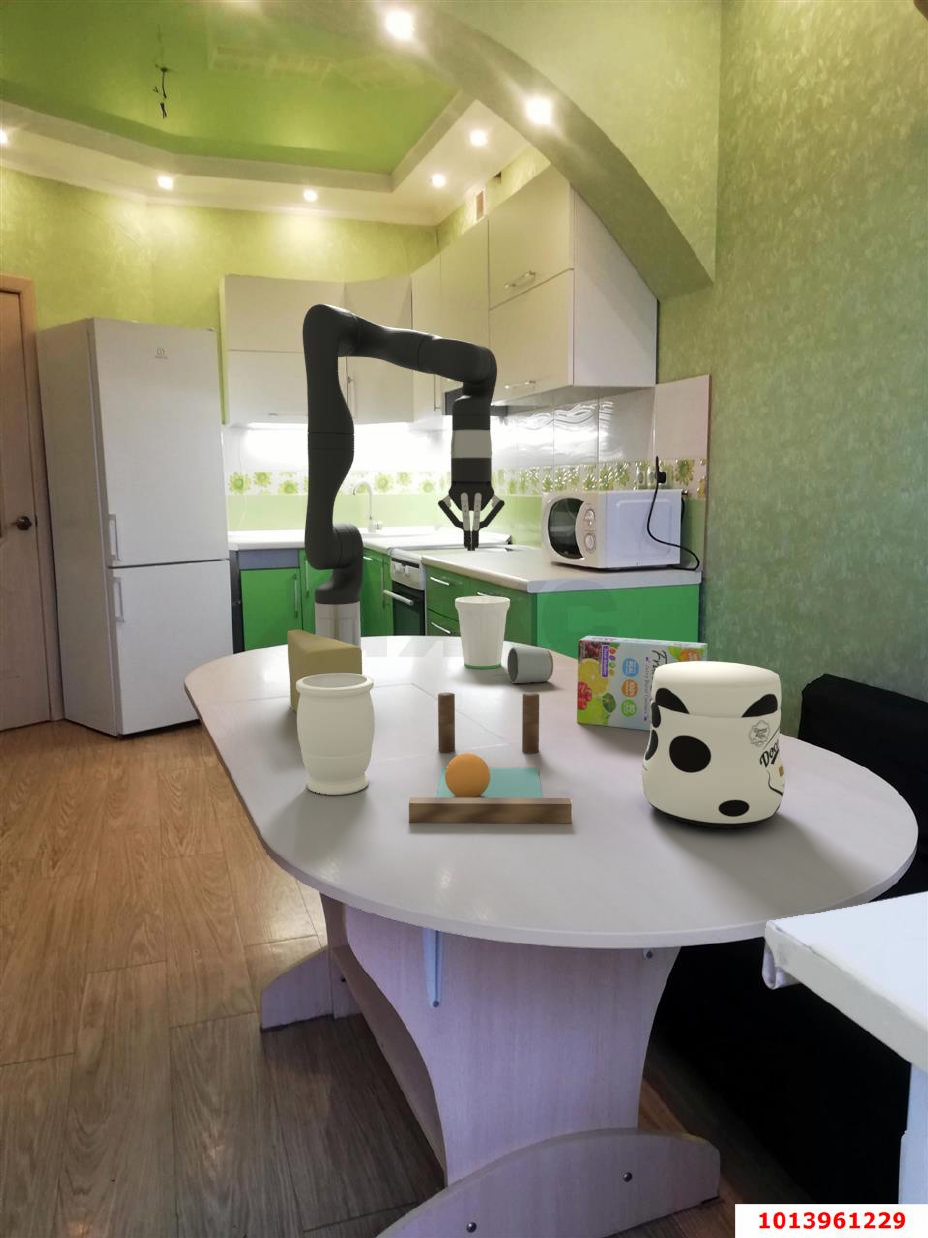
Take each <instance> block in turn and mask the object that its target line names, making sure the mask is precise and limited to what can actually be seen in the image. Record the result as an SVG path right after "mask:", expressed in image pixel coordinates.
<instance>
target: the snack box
mask: <svg viewBox="0 0 928 1238" xmlns="http://www.w3.org/2000/svg"><path fill="white" fill-rule="evenodd" d="M577 646H578V647H577V648H578V649H577V687H576V688H577V689H576V691H577V693H576V694H577V698H576V700H577V701H576V703H577V704H576V723H577V724H585V725H595V726H604V727H611V728H620V729H630V730H637V731H638V730H639V731H647V732H650V730H651V701H652V695H651V692H652V682H653V676H654V672H655V670H656V668H657V667H660V666H662V665H665V664H671V663H677V662H692V661H708V647H709V645H708V643H706V642H694V641H693V642H692V641H691V642H690V641H677V640H676V641H674V640H673V641H672V640H662V639H661V640H659V639H647V638H645V639H644V638H630V637H629V638H628V637H617V636H616V637H615V636H599V635H598V636H597V635H586V636H584V637H582V638H580V639H578V644H577Z"/></svg>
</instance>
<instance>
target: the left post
mask: <svg viewBox="0 0 928 1238" xmlns="http://www.w3.org/2000/svg"><path fill="white" fill-rule="evenodd" d="M455 697H456V694H455V693H453V692H440V693H438V694H437V728H438V733H437V735H438V737H437V739H438V741H437V742H438V743H437V744H438V749H437V751H438V752H439V753H443V754H451V753H454V752H455V751H456V711H455V710H456V706H455V705H456V701H455V700H456V699H455Z"/></svg>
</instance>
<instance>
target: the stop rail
mask: <svg viewBox="0 0 928 1238" xmlns="http://www.w3.org/2000/svg"><path fill="white" fill-rule="evenodd" d="M572 805H573V804H572V801H571V797H542V798H458V797H437V796H436V797H435V796H434V797H433V796H431V797H430V796H429V797H426V796H425V797H424V796H423V797H422V796H420V797H419V796H418V797H416V796H414V797H413V796H411V797H409V801H408V823H412V824H413V823H416V824H417V823H418V824H419V823H422V824H423V823H426V824H427V823H430V824H431V823H433V824H434V823H435V824H437V823H440V824H442V823H443V824H447V823H449V824H450V823H453V824H454V823H456V824H457V823H459V824H461V823H462V824H463V823H464V824H474V823H476V824H483V823H484V824H487V823H488V824H500V823H501V824H572V815H573V814H572V810H573V809H572Z"/></svg>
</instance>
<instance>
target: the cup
mask: <svg viewBox="0 0 928 1238" xmlns="http://www.w3.org/2000/svg"><path fill="white" fill-rule="evenodd" d="M454 606H455V607H454V608H455V609H456V610H457V613H458V621H459V631H460V640H461V647H462V655H463V656H462V657H463V665H464V667H465V668H468V669H475V670H490V669H497V668H499V667H500V666H502V659H503V658H502V656H503V647H504V640H505V639H504V638H505V631H506V622H507V614H508V610H509V608H510V606H511V599H510V598H508V597H504V596H496V595H495V596H494V595H470V596H462V597H461V596H460V597H457V598H455V600H454Z"/></svg>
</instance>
